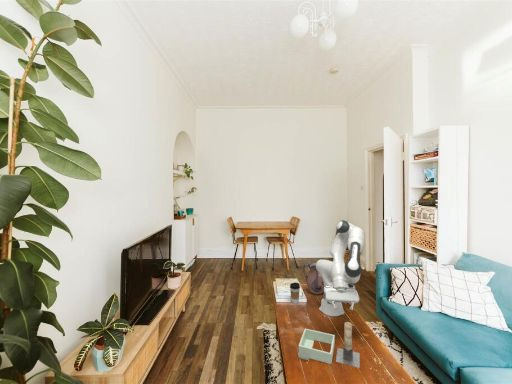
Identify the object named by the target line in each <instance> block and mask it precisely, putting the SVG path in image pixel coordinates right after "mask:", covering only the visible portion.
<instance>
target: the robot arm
mask: <svg viewBox="0 0 512 384" xmlns="http://www.w3.org/2000/svg"><path fill="white" fill-rule="evenodd" d="M336 231H337V234H336V235H335V237H334V239H333V241H332V244H331V247H330V249H329V254H330V256H331V257H332V258H333V260H332V261H331V260H328V259H319V260H317V261H316V262H315V263H316V269H317V271H318V272H319V273H320V275H321V276H322V279H323V282H324V292H323V298H322V299H321V305H320V306H319V307H318V310H319V311H321V313H323V314H324V315H326V316H329V317H339V316H343V315H345V310H344V306H343V303H346V304H347V303H348V304H350V305H351V306H349V310H350V311H353V310H354V305H355V304H358V303H359V302H360V296H359V293H358V291H357V290H356V286H355V284H356V283H358V282H359V281H360V279H361V278H360V277H361V275H362V269H363V268H362V264H361V262H360V254H361V253H362V252H363V250H364V246H365V231H364V229H362V228H361V227H359V226H357V225H355V224H353V223H351V222H349V221H347V220H345V219H341V220H339V222H338V223H337V225H336ZM347 249H348V250H349V256H348V259H347V261H346V262H345V255H346V251H347Z"/></svg>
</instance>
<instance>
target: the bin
mask: <svg viewBox="0 0 512 384" xmlns="http://www.w3.org/2000/svg"><path fill="white" fill-rule="evenodd" d="M335 337H336V335H335V334H331V333H328V332H327V333H326V332H322V331H318V330H314V329H310V328H309V329H308V328H304V330H303V333H302V335H301V338H300V341H299V343H298V359H301V360H304V361H305V360H306V361H309V360H310V359H311V360H313V361H318V362H322V363H326V364H329V365H332V362H333V357H334V350H335V341H336V339H335ZM315 341H316V342H320V343H326V344H328V345H330V351H329V352H328V351H324V350H320V349H317V348H313V347H314V342H315Z"/></svg>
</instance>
